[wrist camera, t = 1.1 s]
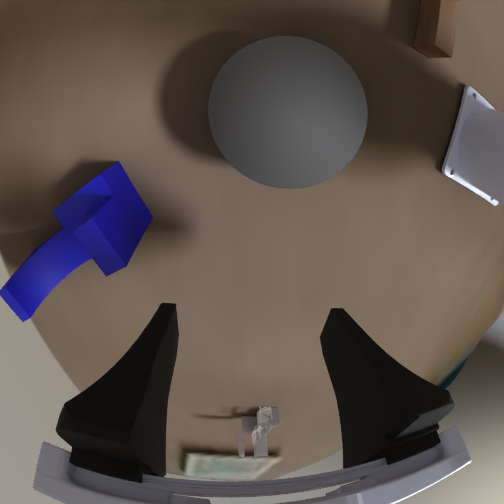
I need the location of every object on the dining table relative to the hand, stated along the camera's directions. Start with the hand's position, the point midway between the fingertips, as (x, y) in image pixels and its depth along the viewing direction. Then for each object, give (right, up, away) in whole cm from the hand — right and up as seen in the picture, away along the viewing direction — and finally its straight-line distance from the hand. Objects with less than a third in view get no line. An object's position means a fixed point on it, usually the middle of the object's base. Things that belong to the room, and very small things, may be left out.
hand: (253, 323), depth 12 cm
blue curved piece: (-13, +5, +5) cm, 15 cm away
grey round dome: (+2, +12, +2) cm, 12 cm away
